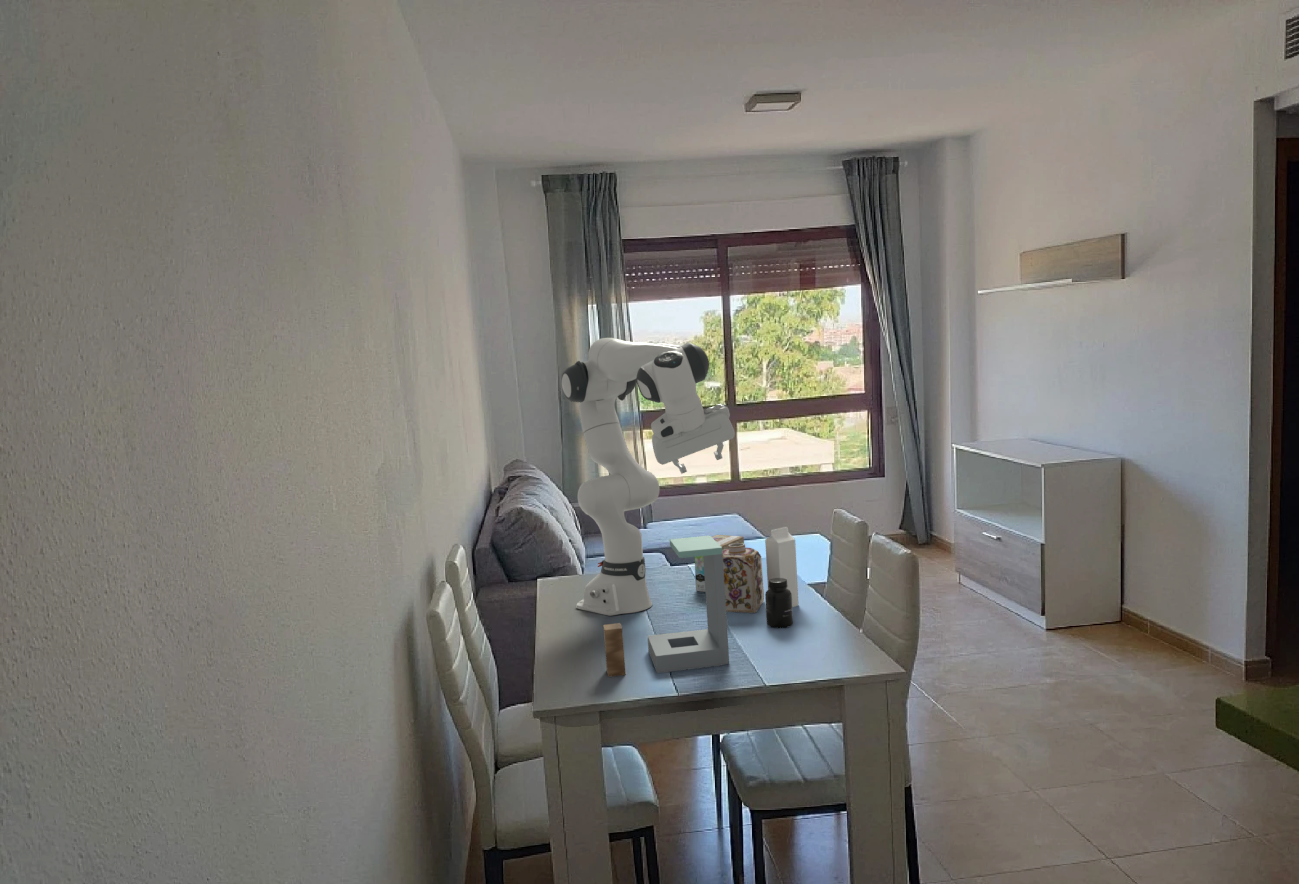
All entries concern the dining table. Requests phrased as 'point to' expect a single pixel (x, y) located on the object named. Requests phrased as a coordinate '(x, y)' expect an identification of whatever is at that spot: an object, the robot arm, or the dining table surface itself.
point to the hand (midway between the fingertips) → (701, 465)
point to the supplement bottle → (778, 604)
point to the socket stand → (711, 642)
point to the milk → (782, 560)
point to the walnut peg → (614, 649)
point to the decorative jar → (742, 579)
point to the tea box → (699, 562)
